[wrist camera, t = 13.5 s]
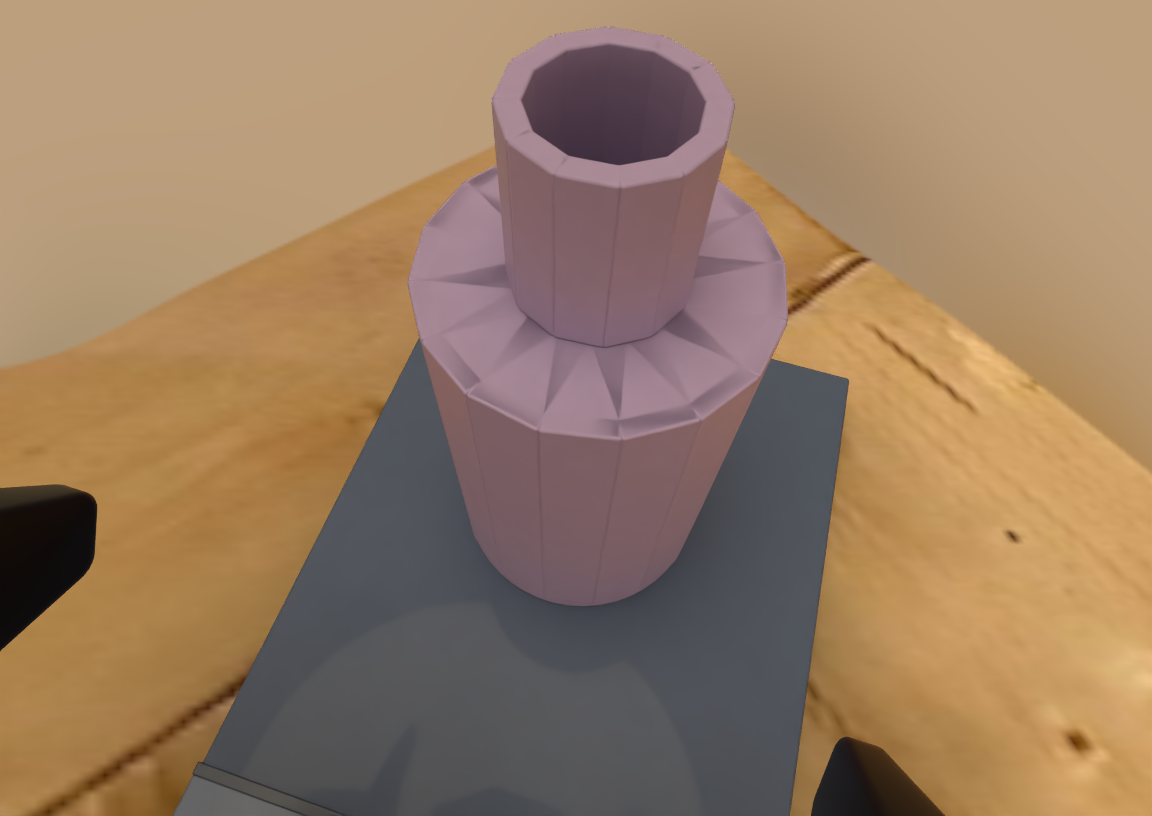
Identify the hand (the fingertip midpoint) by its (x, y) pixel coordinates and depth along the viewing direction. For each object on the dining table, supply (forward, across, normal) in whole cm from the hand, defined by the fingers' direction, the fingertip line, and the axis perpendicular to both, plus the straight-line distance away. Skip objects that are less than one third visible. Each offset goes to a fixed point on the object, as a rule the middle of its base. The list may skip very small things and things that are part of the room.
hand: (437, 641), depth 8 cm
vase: (+13, 0, +3) cm, 13 cm away
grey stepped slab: (+12, 0, +7) cm, 13 cm away
